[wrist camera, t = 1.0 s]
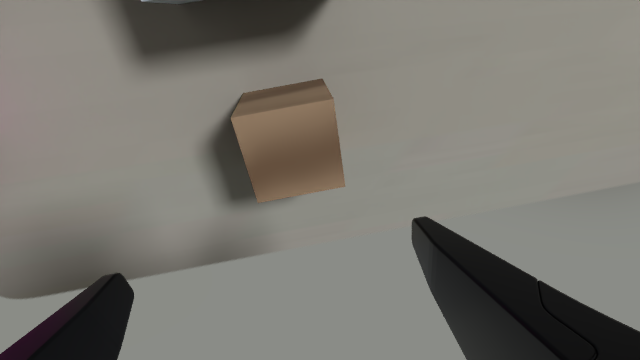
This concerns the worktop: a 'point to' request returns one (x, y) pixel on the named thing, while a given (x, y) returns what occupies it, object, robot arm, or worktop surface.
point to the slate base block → (170, 1)
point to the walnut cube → (289, 140)
